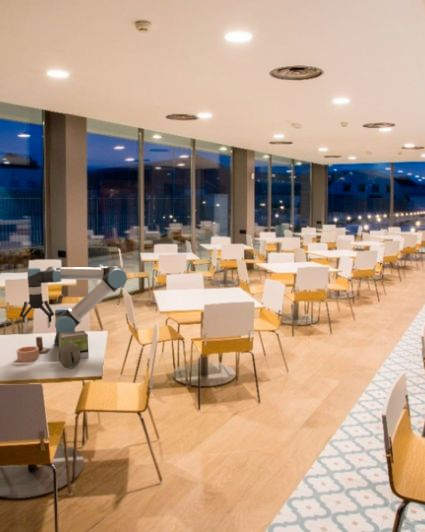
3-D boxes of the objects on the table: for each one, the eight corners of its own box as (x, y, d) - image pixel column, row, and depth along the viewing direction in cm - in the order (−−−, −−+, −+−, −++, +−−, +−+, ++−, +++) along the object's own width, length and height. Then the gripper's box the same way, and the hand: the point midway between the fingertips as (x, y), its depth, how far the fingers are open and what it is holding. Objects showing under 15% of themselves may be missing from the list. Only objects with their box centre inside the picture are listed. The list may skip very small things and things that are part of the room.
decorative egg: (84, 368, 304) (82, 342, 302) (62, 372, 298) (61, 346, 296) (77, 362, 314) (76, 337, 312) (57, 366, 308) (55, 340, 306)
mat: (51, 349, 342) (51, 348, 342) (46, 354, 331) (46, 353, 331) (33, 349, 342) (33, 348, 342) (28, 355, 331) (28, 354, 331)
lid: (51, 348, 342) (50, 334, 341) (46, 353, 331) (45, 339, 330) (33, 348, 342) (32, 335, 341) (28, 354, 331) (26, 340, 330)
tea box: (63, 362, 316) (61, 337, 314) (59, 357, 325) (58, 333, 323) (89, 357, 323) (87, 333, 321) (84, 353, 332) (83, 329, 330)
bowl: (41, 355, 330) (41, 345, 329) (35, 362, 318) (34, 352, 317) (21, 356, 329) (20, 346, 329) (14, 362, 318) (14, 352, 317)
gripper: (57, 291, 335) (59, 325, 338) (16, 292, 335) (19, 326, 338) (54, 294, 327) (56, 328, 331) (12, 295, 327) (15, 329, 330)
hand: (37, 327), depth 334 cm, fingers open, 13 cm apart
